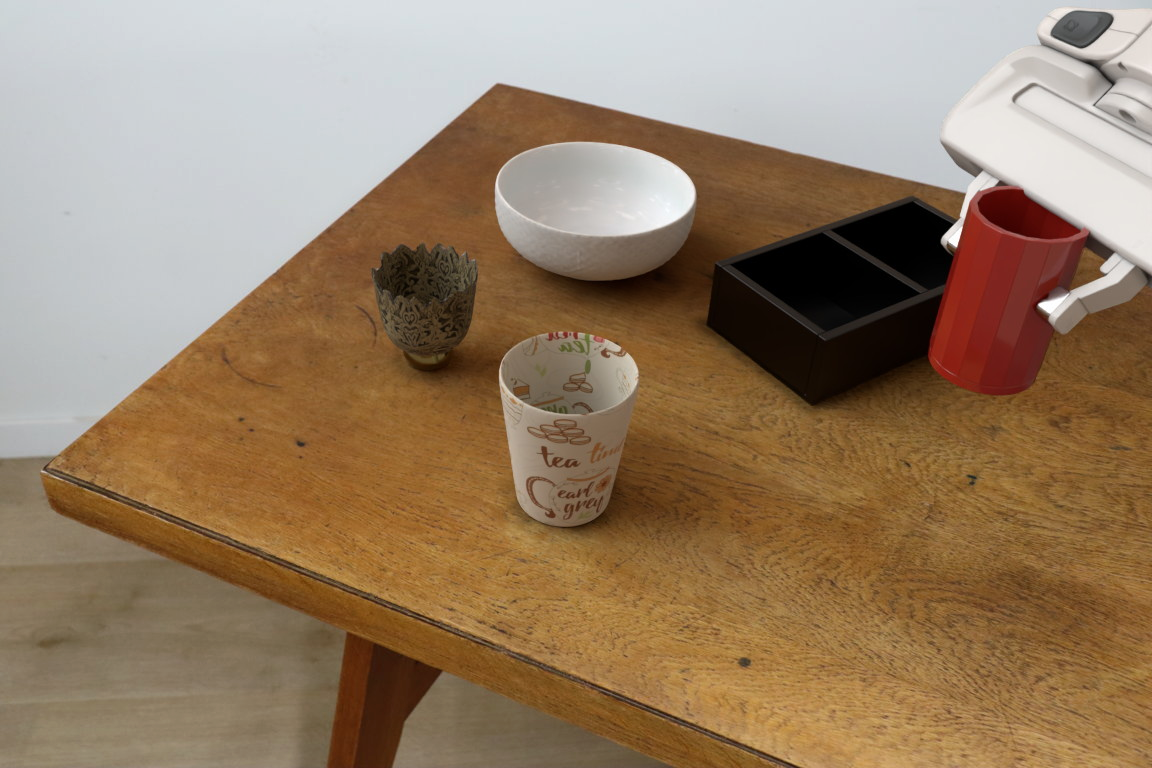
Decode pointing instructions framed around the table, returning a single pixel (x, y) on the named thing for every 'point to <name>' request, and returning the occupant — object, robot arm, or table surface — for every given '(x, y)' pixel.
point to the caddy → (837, 298)
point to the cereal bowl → (594, 209)
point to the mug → (566, 422)
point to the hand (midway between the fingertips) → (997, 286)
